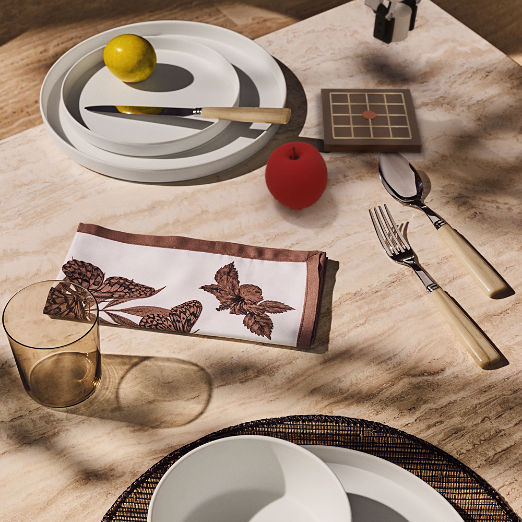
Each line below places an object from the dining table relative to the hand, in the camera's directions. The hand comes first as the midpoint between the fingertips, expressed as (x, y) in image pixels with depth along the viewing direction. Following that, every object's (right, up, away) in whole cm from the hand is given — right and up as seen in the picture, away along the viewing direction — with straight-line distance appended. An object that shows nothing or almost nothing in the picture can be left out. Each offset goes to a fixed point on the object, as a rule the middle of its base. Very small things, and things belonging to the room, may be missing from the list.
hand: (393, 32), depth 102 cm
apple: (-15, -25, -3) cm, 30 cm away
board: (-3, -12, +9) cm, 15 cm away
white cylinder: (0, 0, 0) cm, 0 cm away
